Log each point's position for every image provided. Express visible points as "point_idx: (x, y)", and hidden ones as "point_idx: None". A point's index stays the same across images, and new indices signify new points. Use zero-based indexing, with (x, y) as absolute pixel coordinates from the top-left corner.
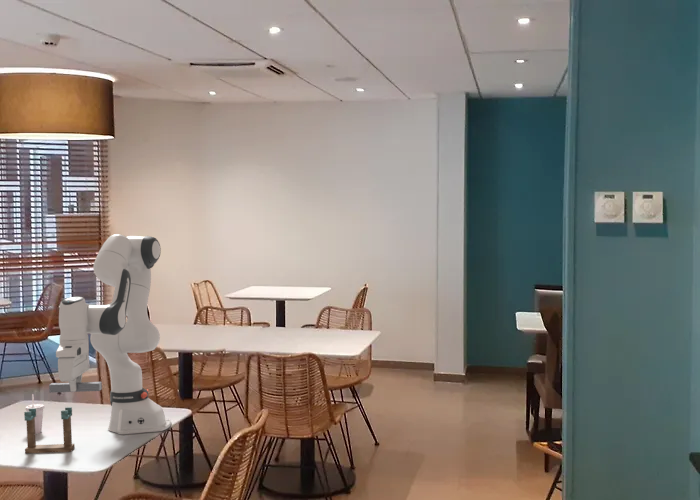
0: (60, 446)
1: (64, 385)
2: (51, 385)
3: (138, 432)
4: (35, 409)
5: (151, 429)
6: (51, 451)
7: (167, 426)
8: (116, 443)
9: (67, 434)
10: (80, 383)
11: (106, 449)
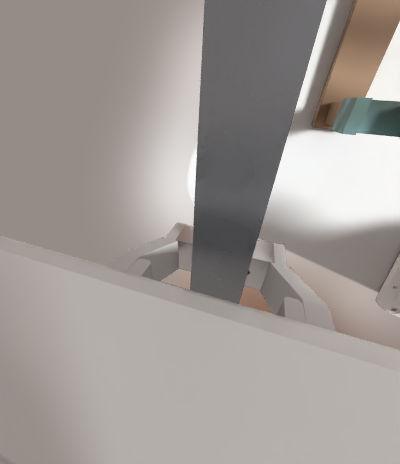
0: (340, 88)
1: (198, 197)
2: (205, 47)
3: (393, 267)
4: None
5: (385, 291)
6: (334, 58)
7: (393, 314)
8: (330, 225)
9: (335, 118)
10: (203, 292)
11: (291, 208)
